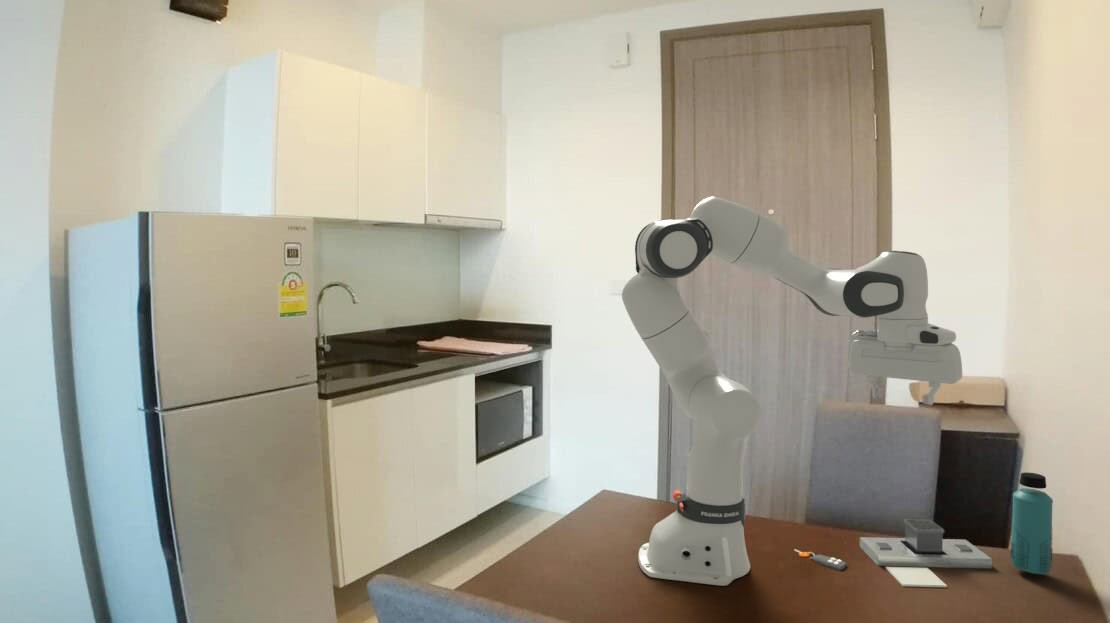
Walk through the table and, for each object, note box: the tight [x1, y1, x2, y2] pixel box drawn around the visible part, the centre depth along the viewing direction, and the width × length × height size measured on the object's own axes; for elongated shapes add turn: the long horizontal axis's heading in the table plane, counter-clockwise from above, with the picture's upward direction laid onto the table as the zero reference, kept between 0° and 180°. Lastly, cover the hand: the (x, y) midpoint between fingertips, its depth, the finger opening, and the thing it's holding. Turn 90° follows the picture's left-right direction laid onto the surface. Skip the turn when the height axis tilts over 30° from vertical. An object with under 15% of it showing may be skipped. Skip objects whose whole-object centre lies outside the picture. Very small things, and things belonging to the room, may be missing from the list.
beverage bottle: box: [1009, 471, 1054, 575], centre depth 122 cm, size 6×7×20 cm
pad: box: [885, 566, 948, 589], centre depth 121 cm, size 8×7×1 cm
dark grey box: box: [903, 518, 945, 555], centre depth 130 cm, size 5×5×7 cm
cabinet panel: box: [859, 536, 993, 569], centre depth 130 cm, size 22×9×2 cm, turn 86°
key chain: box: [794, 548, 847, 571], centre depth 130 cm, size 13×4×2 cm, turn 44°
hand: (902, 400), depth 125 cm, fingers open, 8 cm apart
